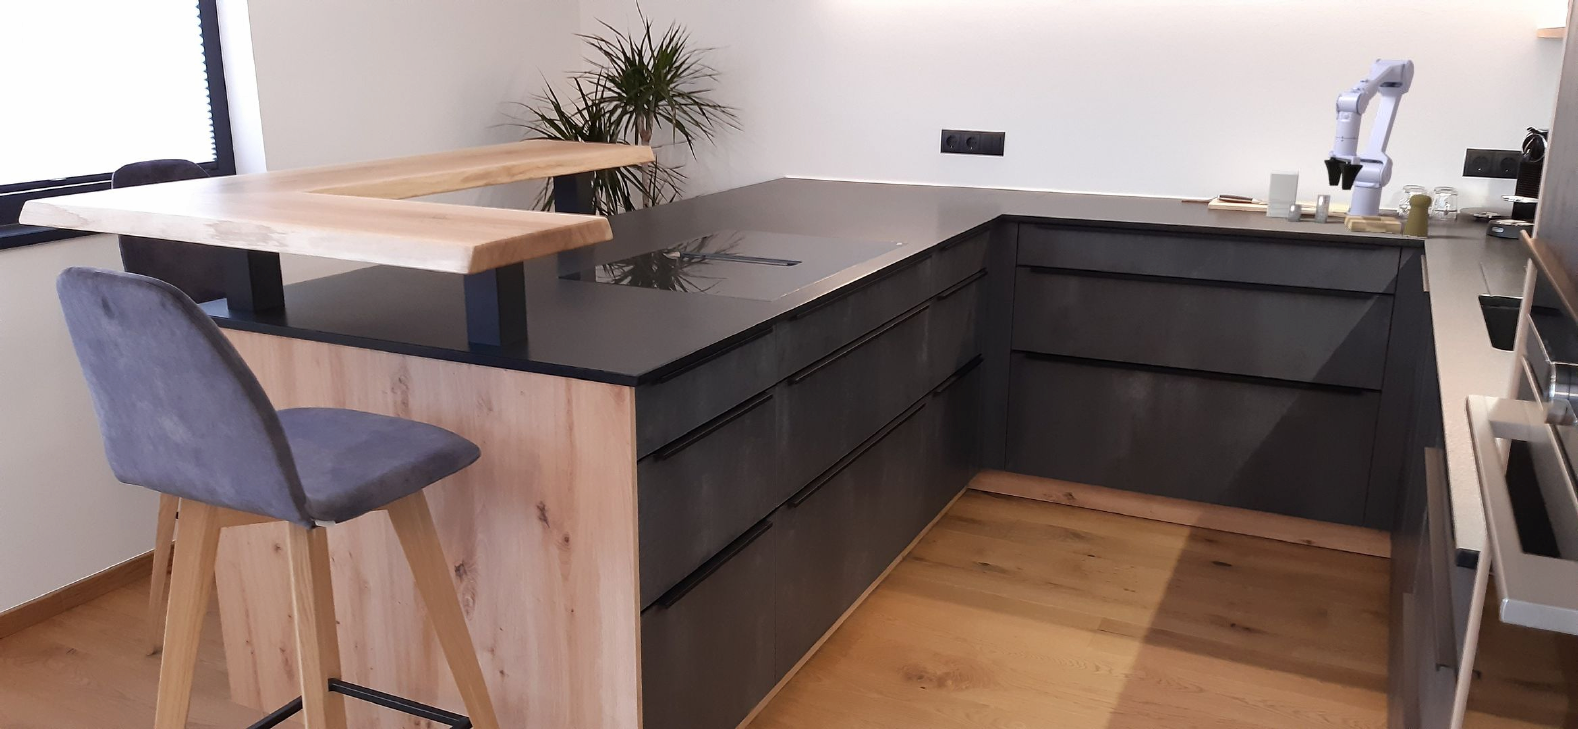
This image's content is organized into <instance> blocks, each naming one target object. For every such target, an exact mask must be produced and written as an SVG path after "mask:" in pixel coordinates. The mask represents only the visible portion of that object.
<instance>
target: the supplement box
mask: <svg viewBox="0 0 1578 729" xmlns="http://www.w3.org/2000/svg"><path fill="white" fill-rule="evenodd" d="M1299 172H1300V171H1295V170H1294V171H1293V170H1273V169H1272V171H1271V173H1270V181H1269V188H1268V195H1267V196H1268V197H1267V207H1266V217H1267V218H1283V219H1284V218H1285V219H1286V218H1287V219H1288V213H1289V206H1290V204H1297V203H1296V200H1297V193H1298V187H1299V186H1298V184H1299V177H1300V176H1299Z"/></svg>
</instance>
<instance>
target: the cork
mask: <svg viewBox="0 0 1578 729" xmlns="http://www.w3.org/2000/svg"><path fill="white" fill-rule="evenodd" d="M1432 199H1433V198H1432V196H1430V195H1427V194H1420V193H1418V194H1413V195H1411V196H1410V197H1409V199H1408V201H1409V202H1408V204H1409V206H1410V209H1409V212H1408V215H1407V218H1406V222H1405V226H1404V228H1403V231H1402V234H1403V235H1410V236H1417V237H1428V238H1429V208H1430V207H1431V205H1432V202H1433V200H1432Z"/></svg>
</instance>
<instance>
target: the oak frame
mask: <svg viewBox="0 0 1578 729" xmlns="http://www.w3.org/2000/svg"><path fill="white" fill-rule="evenodd" d="M1344 225H1345V227H1346V228H1348V230H1349V229H1350V230H1349V231H1350V232H1352V231H1371V232H1370V233H1372V232H1392V233H1400V234H1401V229H1402V223H1401V221H1399V220H1398V219H1396V218H1395V217H1394V216H1383V215H1382V216H1380V215H1379V216H1363V215H1348V214H1345V217H1344Z"/></svg>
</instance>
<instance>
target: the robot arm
mask: <svg viewBox="0 0 1578 729" xmlns="http://www.w3.org/2000/svg"><path fill="white" fill-rule="evenodd" d="M1369 72H1370V73H1369V75H1368V76H1367V78H1365V77H1364V78H1361V79H1360V80H1358V81H1357V83H1355V85H1353V86H1352V87H1351V88H1350V89H1349V90H1348V91H1344V92H1342V93H1340V94H1339V95H1338V96H1337V97H1336V98H1337V99H1336V102H1335V112H1336V114H1335V118H1336V120H1337V121H1336V122H1337V123H1336V124H1337V125H1336V131H1335V135H1334V136H1335V137H1334V138H1335V139H1334V143H1333V144H1334V146H1333V150H1329V151H1328V156H1327V158H1328V159H1324V164H1325V167H1326V171H1327V176H1328V184H1329V186H1331V187H1338V186H1339V184H1340V181H1341V190H1342V191H1351V190H1352V188H1353V191H1352V196H1351V202H1350V203H1351V204H1350V208H1349V211H1346V212H1345V213H1346V215H1363V216H1380V215H1379V213H1380V212H1379V211H1380V205H1381V200H1382V199H1381V198H1382V190H1383V188H1384V187H1386V186H1387V185H1388V184H1389V182H1390V180H1391V178H1392V174H1393V165H1394V164H1393V163H1394V162H1393V160H1392V158H1391V157H1390V155H1388V154H1387V153H1386V151H1387V147H1388V145H1389V142H1390V139H1391V138H1390V137H1391V135H1392V132H1393V131H1392V130H1393V127H1394V124H1395V120H1396V117H1397V113H1398V109H1399V106H1400V104H1401V103H1400V102H1401V99H1402V97H1403V95H1405V94H1406V93H1408V92H1409V90H1410V88H1411V85H1412V82H1413V79H1414V76H1415V75H1414V74H1415V65H1414V62H1413V61H1412V60H1411V59H1408V60H1403V59H1398V60H1397V59H1381V58H1377V59H1375V60H1374V61H1373V62H1372V64H1371V66H1370V71H1369ZM1377 93H1379V94H1380V95H1381V98H1380V102H1379V104H1378V109H1377V114H1376V116H1375V120H1374V123H1373V126H1372V130H1371V133H1370V137H1369V140H1368V144H1367V147H1366V149H1365V150H1364V151H1362V152H1360V153H1358V154H1357V151H1358V143H1359V137H1360V136H1359V135H1360V129H1361V123H1362V117H1363V116H1362V115H1363V114H1365V113H1366V110H1367V108H1368V106H1369V103H1370V101H1371V100H1372V99H1373V98H1374V97H1375V96H1376V95H1377ZM1353 186H1354V187H1353Z"/></svg>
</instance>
